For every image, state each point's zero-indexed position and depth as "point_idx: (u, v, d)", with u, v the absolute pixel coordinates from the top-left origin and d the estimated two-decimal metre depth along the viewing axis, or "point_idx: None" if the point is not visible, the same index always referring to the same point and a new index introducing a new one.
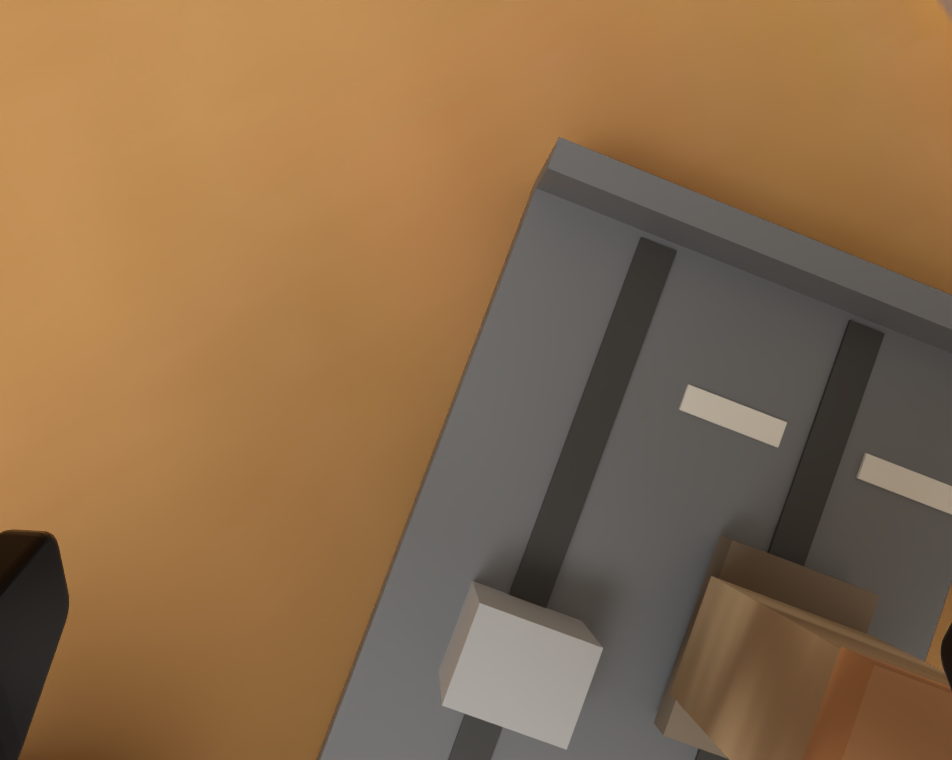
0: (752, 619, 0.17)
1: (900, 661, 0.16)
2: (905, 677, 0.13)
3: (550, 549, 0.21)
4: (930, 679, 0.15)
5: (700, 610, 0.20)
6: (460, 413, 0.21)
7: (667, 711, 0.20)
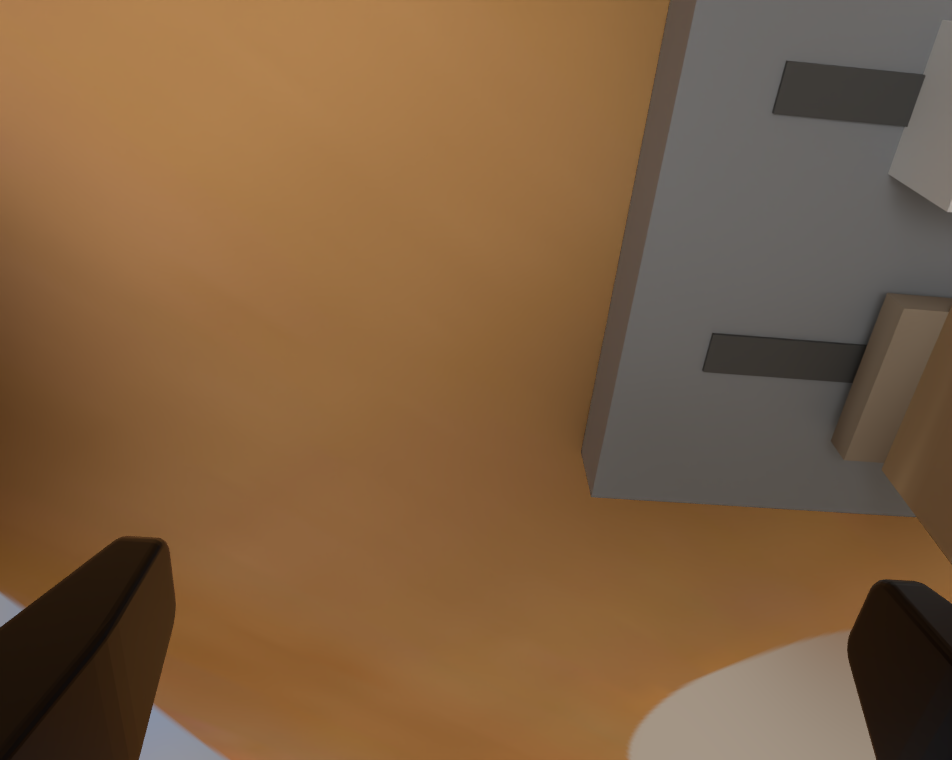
0: None
1: None
2: None
3: None
4: None
5: None
6: None
7: (920, 305, 0.18)
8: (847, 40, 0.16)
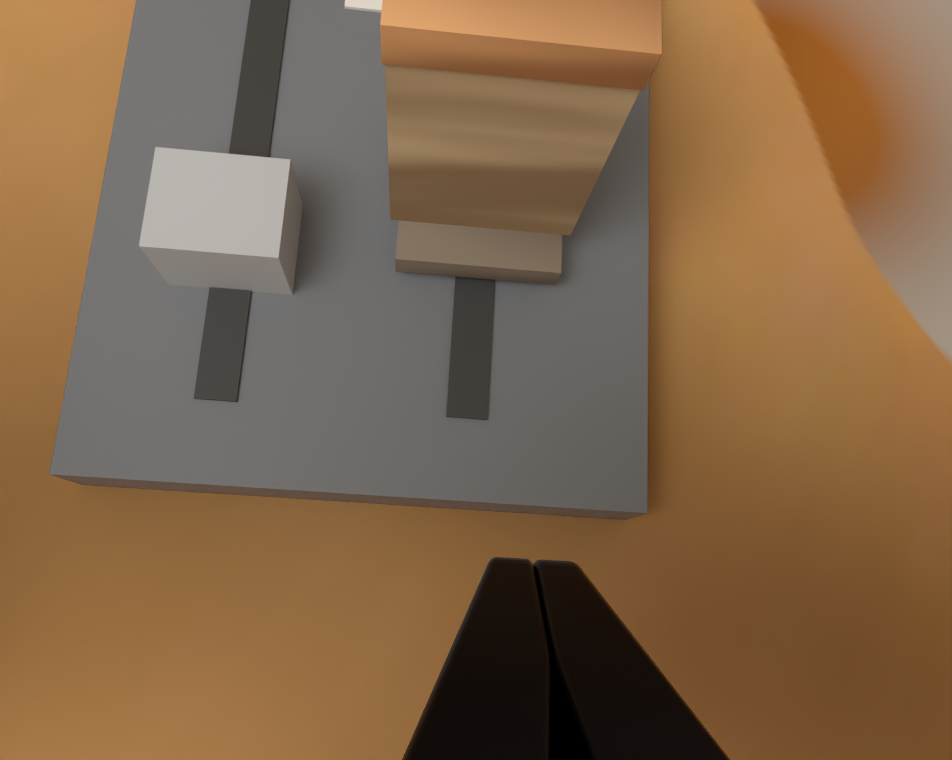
0: None
1: None
2: None
3: (254, 151, 0.21)
4: None
5: None
6: (134, 55, 0.22)
7: (397, 243, 0.20)
8: (180, 353, 0.20)
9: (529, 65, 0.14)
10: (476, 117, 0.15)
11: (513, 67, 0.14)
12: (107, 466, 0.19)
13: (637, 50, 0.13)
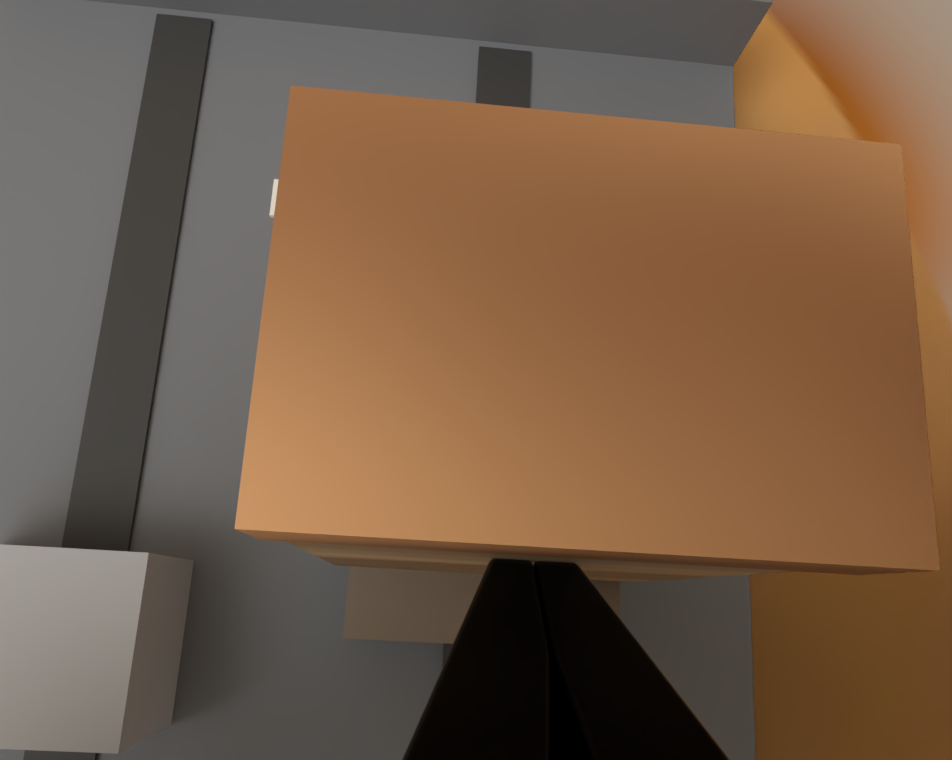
0: None
1: None
2: (368, 94, 0.06)
3: (119, 465, 0.13)
4: None
5: None
6: None
7: (347, 601, 0.12)
8: None
9: None
10: (479, 556, 0.07)
11: (568, 556, 0.06)
12: None
13: (878, 558, 0.05)
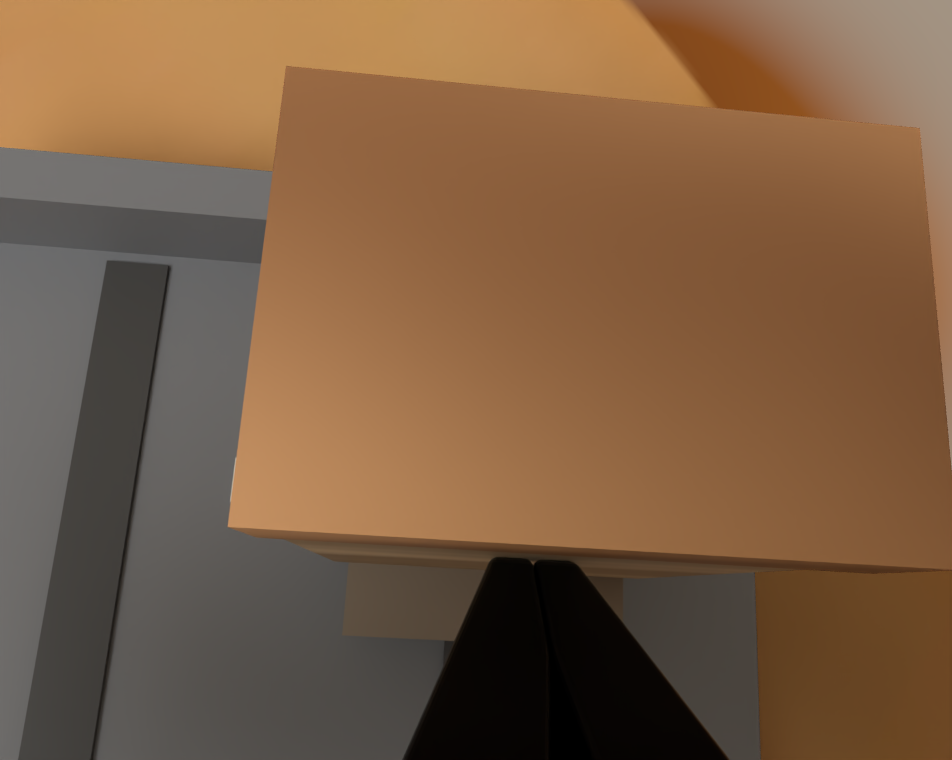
0: None
1: None
2: (366, 75, 0.06)
3: None
4: None
5: None
6: None
7: (346, 597, 0.12)
8: None
9: None
10: (481, 553, 0.07)
11: (574, 554, 0.06)
12: None
13: (896, 557, 0.05)
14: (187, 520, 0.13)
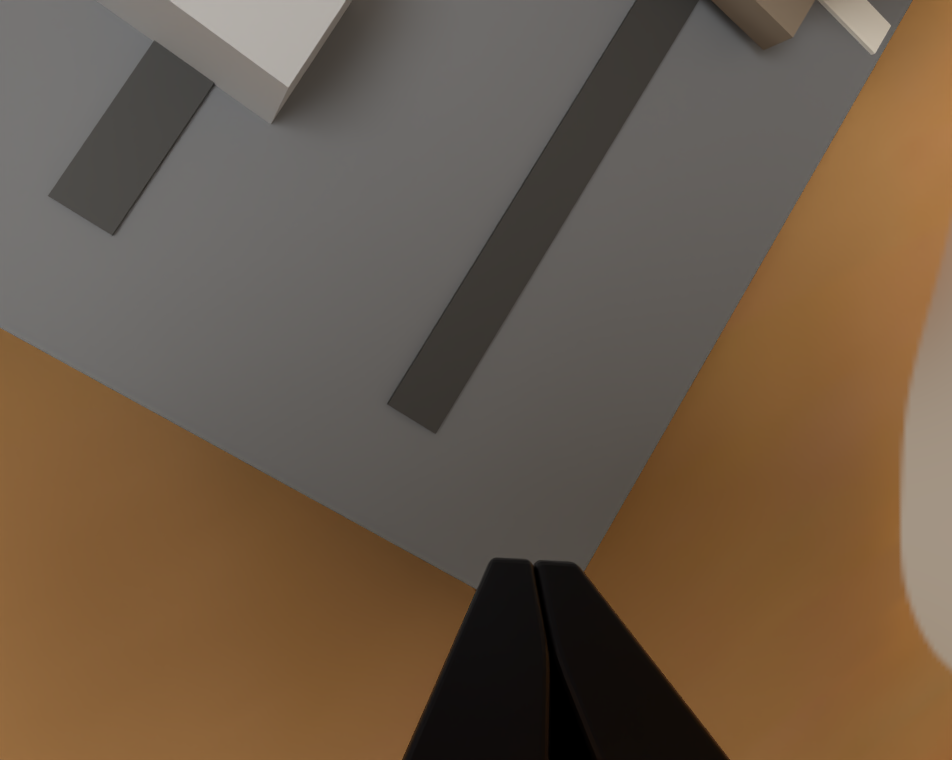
0: None
1: None
2: None
3: None
4: None
5: None
6: None
7: None
8: (59, 115, 0.12)
9: None
10: None
11: None
12: None
13: None
14: None
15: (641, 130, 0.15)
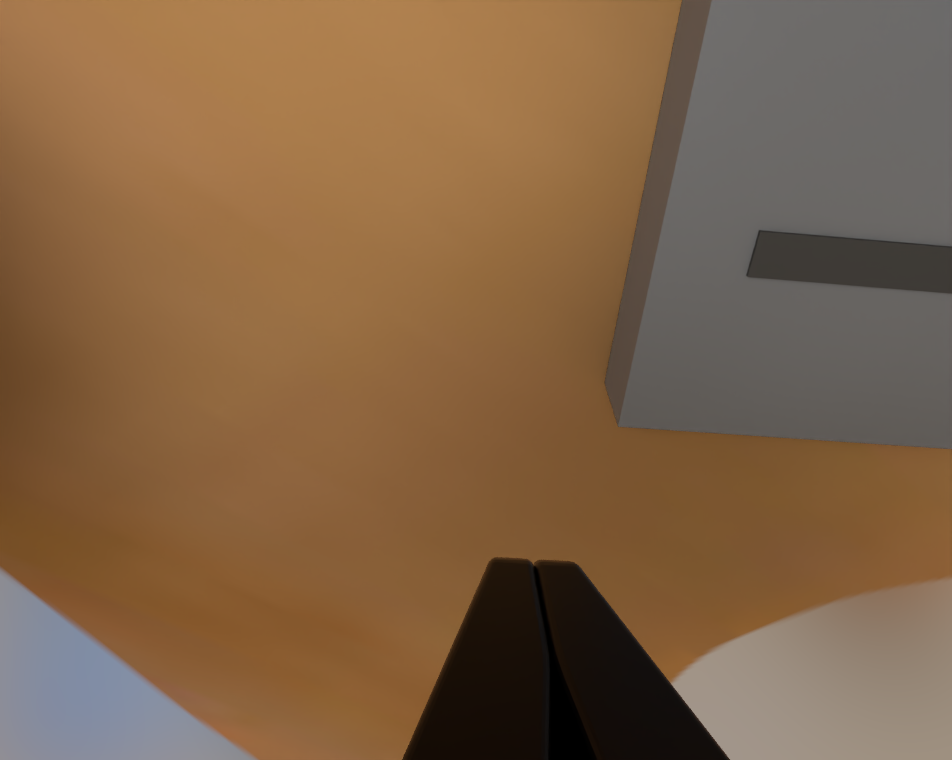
0: None
1: None
2: None
3: None
4: None
5: None
6: None
7: None
8: None
9: None
10: None
11: None
12: None
13: None
14: None
15: None
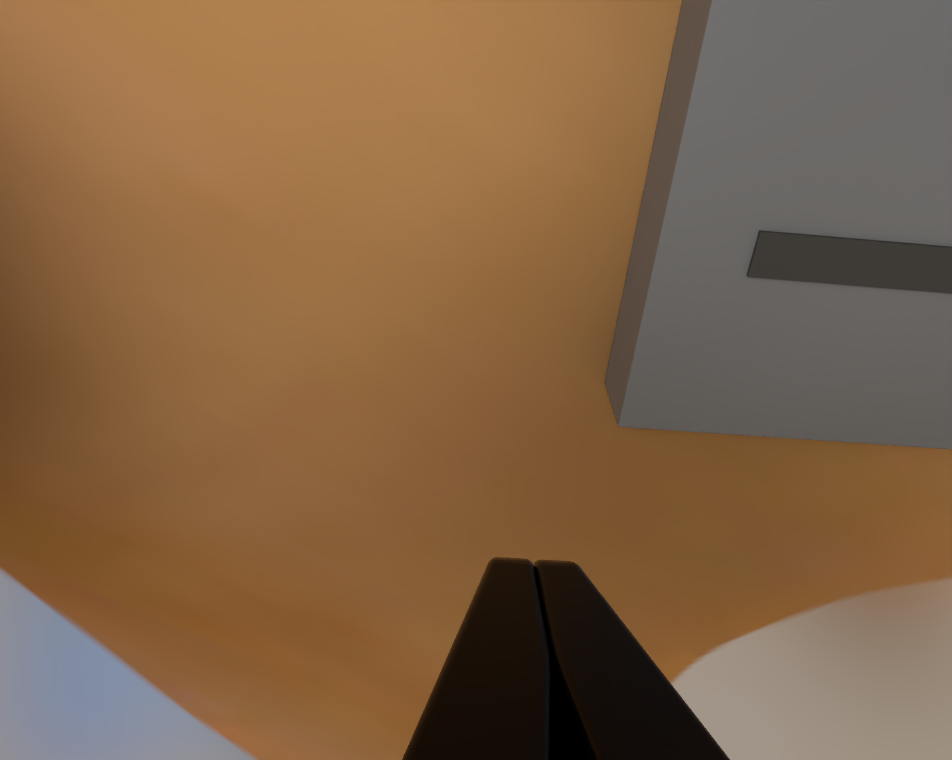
0: None
1: None
2: None
3: None
4: None
5: None
6: None
7: None
8: None
9: None
10: None
11: None
12: None
13: None
14: None
15: None
